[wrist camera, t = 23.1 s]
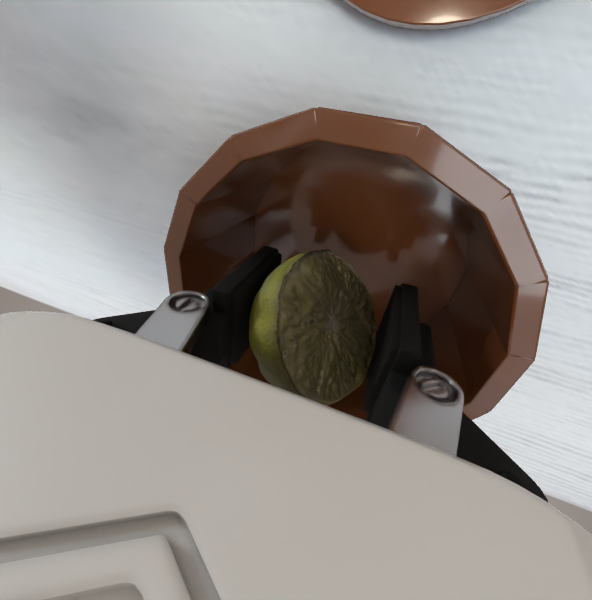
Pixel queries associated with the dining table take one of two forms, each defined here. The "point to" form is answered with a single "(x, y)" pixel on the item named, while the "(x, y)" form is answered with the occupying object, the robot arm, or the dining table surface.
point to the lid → (434, 11)
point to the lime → (314, 327)
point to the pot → (374, 235)
